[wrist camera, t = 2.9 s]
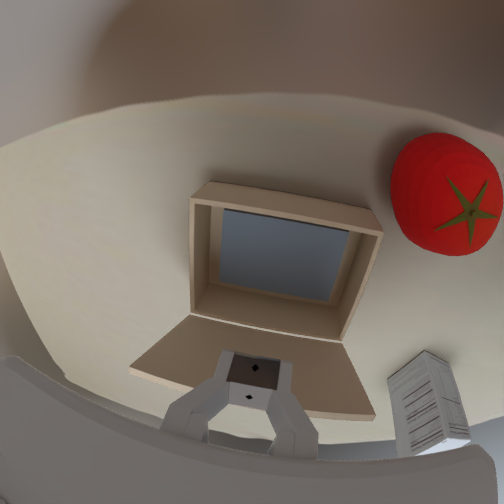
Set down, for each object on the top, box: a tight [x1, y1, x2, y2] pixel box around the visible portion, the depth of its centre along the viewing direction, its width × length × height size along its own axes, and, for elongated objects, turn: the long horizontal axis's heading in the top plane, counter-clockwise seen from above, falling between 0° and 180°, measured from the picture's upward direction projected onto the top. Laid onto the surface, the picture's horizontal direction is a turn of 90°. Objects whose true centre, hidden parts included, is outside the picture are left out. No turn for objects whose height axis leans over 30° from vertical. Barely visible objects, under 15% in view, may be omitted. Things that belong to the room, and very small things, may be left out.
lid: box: [129, 315, 376, 421], centre depth 24 cm, size 18×14×1 cm
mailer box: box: [189, 181, 385, 341], centre depth 30 cm, size 18×14×6 cm
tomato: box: [390, 133, 503, 256], centre depth 21 cm, size 11×12×10 cm
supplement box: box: [387, 351, 472, 458], centre depth 32 cm, size 10×9×17 cm
